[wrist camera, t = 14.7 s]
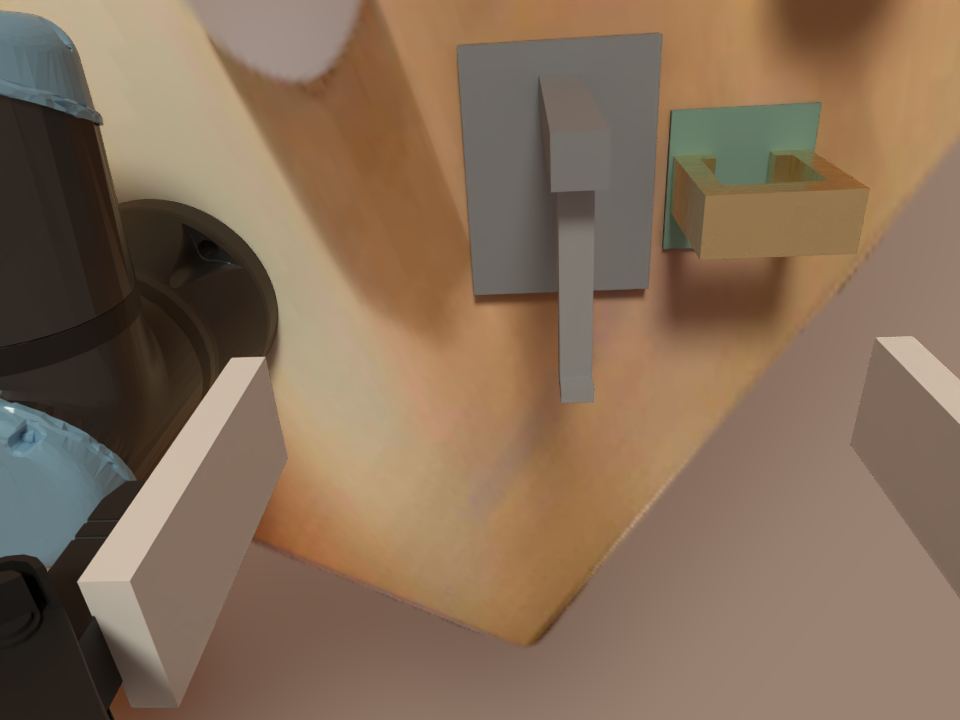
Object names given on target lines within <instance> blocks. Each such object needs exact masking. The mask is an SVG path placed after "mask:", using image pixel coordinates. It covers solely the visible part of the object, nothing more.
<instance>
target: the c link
mask: <svg viewBox="0 0 960 720" xmlns="http://www.w3.org/2000/svg"><path fill="white" fill-rule="evenodd" d="M715 169H716V157H715V156H714V155H713V154H701V155H681V156H674V157H673V172H672V187H671V202H670V212H671V213H672V215H673V217H674V218H675V220H676V222H677V223H678V225H679V227H680V228H681V230H682V231H683V233H684V235H685V236H686V238H687V240H688V241H689V243H690V245H691V246H692V248H693V249H694V251H695V253H696V254H697V256H698V258H699V259H700V260H714V259H739V258H764V257H789V256H814V255H839V254H857V250H858V245H859V240H860V235H861V230H862V225H863V220H864V215H865V210H866V205H867V200H868V195H869V190H870V188H868V187H867V186H865V185H864V184H862V183H861V182H859V181H858V180H856V179H854V178H853V177H851V176H850V175H848V174H847V173H845V172H844V171H842V170H841V169H839V168H837V167H836V166H834V165H833V164H831V163H830V162H828V161H827V160H825V159H824V158H822V157H820V156H819V155H817V154H816V153H814V152H813V151H811V150H810V149H802V150H781V151H770V155H769V163H768V171H767V179H766V184H745V185H723V184H722V183H721V181H720V180H719V179H718V178H717V177H716V176H715Z"/></svg>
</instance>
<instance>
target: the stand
mask: <svg viewBox="0 0 960 720" xmlns="http://www.w3.org/2000/svg"><path fill="white" fill-rule="evenodd" d="M661 50H662V34H661V33H645V34H628V35H612V36H595V37H579V38H563V39H546V40H530V41H513V42H497V43H481V44H464V45H458V46H457V56H458V71H459V85H460V99H461V114H462V128H463V142H464V157H465V171H466V186H467V200H468V214H469V229H470V243H471V258H472V272H473V286H474V295H492V294H519V293H545V292H558V374H559V385H560V395H561V403H588V402H594V384H593V379H592V347H593V291H598V290H625V289H648V288H649V270H650V251H651V233H652V215H653V196H654V178H655V160H656V142H657V123H658V105H659V87H660V68H661Z"/></svg>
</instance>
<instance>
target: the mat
mask: <svg viewBox="0 0 960 720" xmlns="http://www.w3.org/2000/svg"><path fill="white" fill-rule="evenodd" d="M821 104H822V103H820V102H816V103H797V104H779V105H760V106H742V107H723V108H704V109H686V110H671V117H670V133H669V149H668V165H667V181H666V197H665V213H664V229H663V245H662V248H663V249H684V248H692V246H691V245H690V243H689V241H688V240H687V238H686V236H685V235H684V233H683V231H682V230H681V228H680V227H679V225H678V223H677V222H676V220H675V218H674V217H673V215H672V213H671V212H670V202H671V187H672V172H673V157H674V156H681V155H701V154H713V155H714V156H715V157H716V169H715V176H716V177H717V178H718V179H719V180H720V181H721V183H722V184H723V185H745V184H766V179H767V171H768V163H769V155H770V151H781V150H802V149H810V150H811V151H813V152H814V149H815V143H816V136H817V130H818V123H819V117H820V111H821Z"/></svg>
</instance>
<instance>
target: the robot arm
mask: <svg viewBox="0 0 960 720" xmlns="http://www.w3.org/2000/svg"><path fill="white" fill-rule="evenodd" d="M102 125H103V120H102V117H101V115H100V113H98V112H97V111H96V110H95V108H94V105H93V102H92V98H91V95H90V91H89V88H88V84H87V81H86V77H85V74H84V70H83V67H82V63H81V60H80V56H79V54H78V51H77V49H76V47H75V45H74V43H73V42H72V40H71V39H70V38H69V36H68V35H67V34H66V33H65V32H64V31H63V30H62V29H61V28H59V27H58V26H57V25H55V24H54V23H52V22H51V21H49V20H47V19H45V18H43V17H40V16H37V15H34V14H28V13H21V12H12V11H3V10H0V720H115V719H114V717H113V715H112V712H111V710H110V708H109V706H110V704H111V702H112V701H113V699H114V697H115V695H116V693H117V691H118V689H119V687H120V686H121V684H122V686H123V689H124V691H125V693H126V695H127V698H128V700H129V702H130V705H131V707H132V708H163V707H164V708H166V707H167V708H170V707H171V708H174V707H179V705H180V703H181V701H182V698H183V696H184V694H185V692H186V689H187V687H188V685H189V682H190V680H191V678H192V675H193V673H194V671H195V669H196V666H197V664H198V662H199V659H200V657H201V655H202V653H203V650H204V648H205V646H206V644H207V641H208V639H209V637H210V634H211V632H212V630H213V628H214V625H215V623H216V621H217V618H218V616H219V614H220V612H221V609H222V607H223V605H224V603H225V600H226V598H227V595H228V593H229V591H230V589H231V587H232V584H233V582H234V579H235V577H236V575H237V573H238V570H239V568H240V566H241V564H242V561H243V559H244V557H245V555H246V552H247V550H248V548H249V545H250V543H251V541H252V539H253V536H254V534H255V532H256V529H257V527H258V525H259V523H260V520H261V518H262V516H263V513H264V511H265V509H266V507H267V504H268V502H269V500H270V497H271V495H272V493H273V491H274V488H275V486H276V484H277V481H278V479H279V477H280V475H281V472H282V470H283V468H284V465H285V463H286V461H287V459H288V457H287V452H286V448H285V443H284V439H283V434H282V430H281V425H280V421H279V416H278V411H277V407H276V402H275V398H274V393H273V389H272V384H271V380H270V375H269V370H268V366H267V361H266V357H265V356H266V355H267V353H268V351H269V349H270V347H271V345H272V343H273V340H274V336H275V333H276V327H277V303H276V298H275V293H274V290H273V287H272V284H271V281H270V279H269V276H268V274H267V272H266V270H265V268H264V266H263V265H262V263H261V261H260V260H259V258H258V257H257V256H256V254H255V253H254V252H253V250H252V249H251V248H250V247H249V246H248V244H247V243H246V242H245V241H244V240H243V239H242V238H241V237H240V236H239V235H238V234H236V233H235V232H234V231H233V230H232V229H230V228H229V227H228V226H227V225H225V224H224V223H222V222H221V221H219V220H218V219H216V218H214V217H213V216H211V215H209V214H207V213H205V212H203V211H201V210H198V209H196V208H193V207H191V206H188V205H185V204H181V203H177V202H172V201H166V200H156V199H144V200H135V201H129V202H125V203H122V204H119V205H118V201H117V197H116V193H115V189H114V185H113V180H112V176H111V172H110V168H109V164H108V160H107V156H106V151H105V147H104V143H103V139H102V135H101V131H100V127H99V126H102ZM850 445H851V446H852V448H853V449H854V450H855V452H856V453H857V455H858V456H859V457H860V459H861V460H862V462H863V463H864V464H865V465H866V467H867V469H868V470H869V471H870V473H871V474H872V476H873V477H874V479H875V480H876V481H877V483H878V484H879V485H880V487H881V488H882V490H883V491H884V493H885V494H886V495H887V497H888V498H889V500H890V501H891V502H892V504H893V505H894V506H895V508H896V509H897V511H898V512H899V514H900V515H901V517H902V518H903V519H904V521H905V522H906V524H907V525H908V526H909V528H910V529H911V531H912V532H913V533H914V535H915V536H916V538H917V539H918V541H919V542H920V543H921V545H922V546H923V547H924V549H925V550H926V552H927V553H928V555H929V556H930V557H931V559H932V560H933V561H934V563H935V564H936V566H937V567H938V569H939V570H940V571H941V573H942V574H943V576H944V577H945V579H946V580H947V581H948V583H949V584H950V586H951V587H952V588H953V590H954V591H955V592H956V594H957V595H958V597H959V598H960V380H959V379H958V378H957V377H956V376H955V375H953V374H952V373H951V372H950V371H949V370H948V369H947V368H946V367H945V366H944V365H943V364H942V363H941V362H940V361H939V360H937V359H936V358H935V357H934V356H933V355H932V354H931V353H930V352H929V351H928V350H927V349H926V348H925V347H923V346H922V345H921V344H920V343H919V342H918V341H917V340H916V339H915V338H914V337H912V336H909V337H878V338H875V341H874V345H873V350H872V354H871V358H870V362H869V367H868V371H867V375H866V380H865V384H864V389H863V393H862V397H861V401H860V405H859V409H858V414H857V418H856V422H855V427H854V431H853V435H852V439H851V444H850ZM49 567H51V568H50V570H49V571H48V572H47V570H46V568H49Z"/></svg>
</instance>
